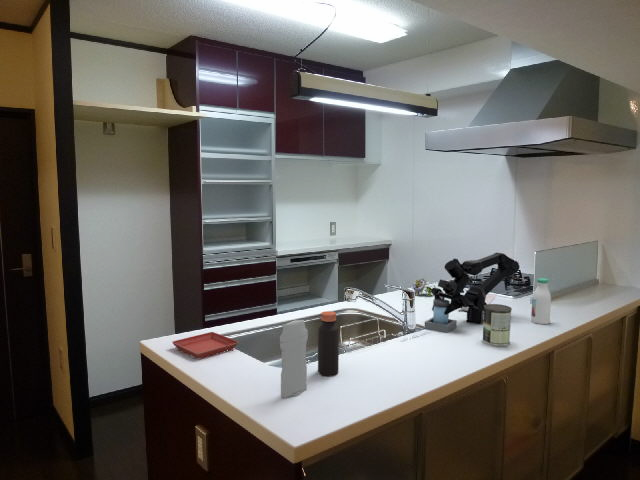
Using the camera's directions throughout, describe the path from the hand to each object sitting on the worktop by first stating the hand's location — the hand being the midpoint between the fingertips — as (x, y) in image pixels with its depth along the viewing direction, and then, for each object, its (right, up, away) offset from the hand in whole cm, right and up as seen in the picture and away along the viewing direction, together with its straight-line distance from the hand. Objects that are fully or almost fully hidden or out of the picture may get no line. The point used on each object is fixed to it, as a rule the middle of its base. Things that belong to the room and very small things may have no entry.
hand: (438, 312), depth 208 cm
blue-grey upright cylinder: (+1, -7, +1) cm, 7 cm away
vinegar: (-49, -13, -50) cm, 71 cm away
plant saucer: (-94, -10, -28) cm, 99 cm away
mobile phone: (+28, -4, +35) cm, 45 cm away
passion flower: (+7, 0, +66) cm, 66 cm away
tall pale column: (-59, -14, -66) cm, 89 cm away
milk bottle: (+49, -6, +11) cm, 51 cm away
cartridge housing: (+1, -7, +1) cm, 7 cm away
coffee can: (+18, -9, -17) cm, 27 cm away
